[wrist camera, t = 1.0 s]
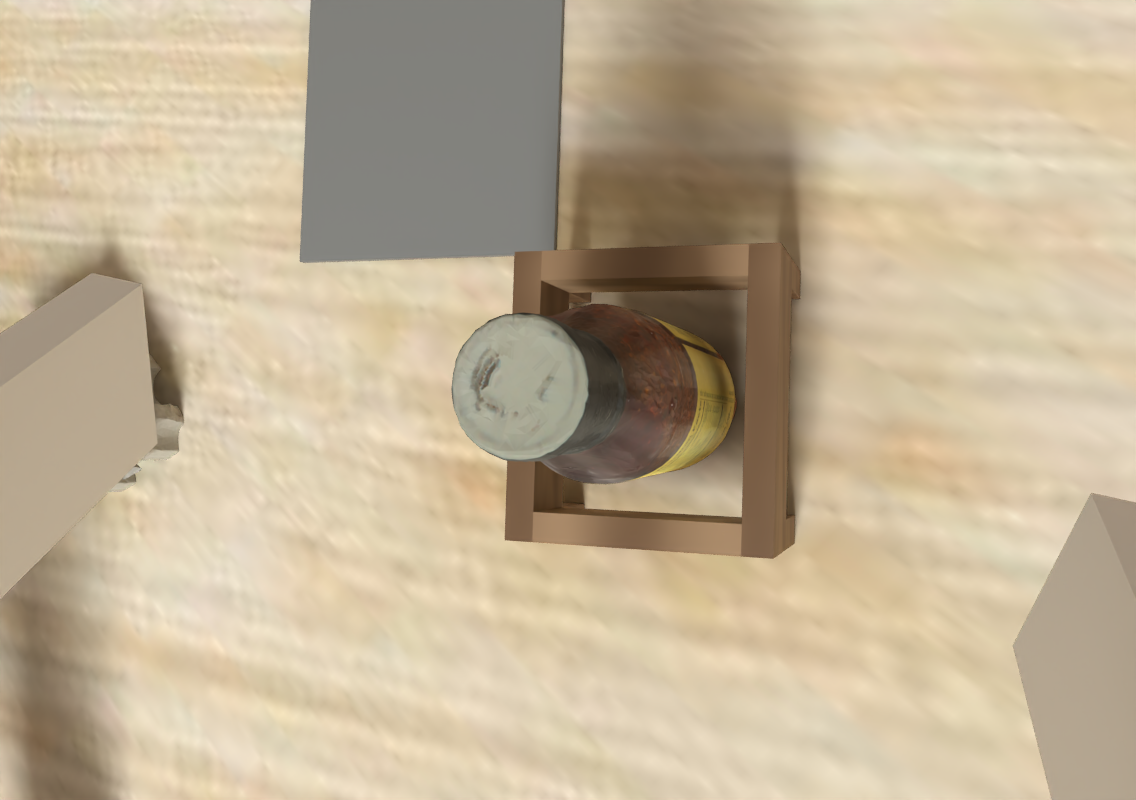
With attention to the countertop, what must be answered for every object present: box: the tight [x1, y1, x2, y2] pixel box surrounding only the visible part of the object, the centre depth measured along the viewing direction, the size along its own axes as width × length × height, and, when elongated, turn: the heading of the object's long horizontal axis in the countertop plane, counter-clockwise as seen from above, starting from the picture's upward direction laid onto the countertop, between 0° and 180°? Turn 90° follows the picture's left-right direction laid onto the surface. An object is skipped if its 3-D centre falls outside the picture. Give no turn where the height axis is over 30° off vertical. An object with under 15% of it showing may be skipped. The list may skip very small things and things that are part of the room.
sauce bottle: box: [452, 304, 737, 484], centre depth 36 cm, size 6×6×20 cm
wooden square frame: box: [505, 243, 801, 559], centre depth 43 cm, size 11×12×6 cm
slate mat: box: [300, 0, 564, 263], centre depth 50 cm, size 14×14×1 cm
